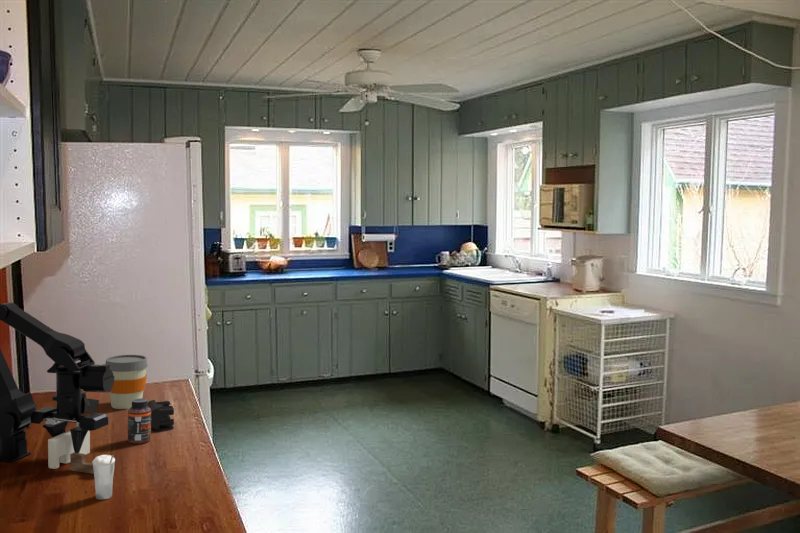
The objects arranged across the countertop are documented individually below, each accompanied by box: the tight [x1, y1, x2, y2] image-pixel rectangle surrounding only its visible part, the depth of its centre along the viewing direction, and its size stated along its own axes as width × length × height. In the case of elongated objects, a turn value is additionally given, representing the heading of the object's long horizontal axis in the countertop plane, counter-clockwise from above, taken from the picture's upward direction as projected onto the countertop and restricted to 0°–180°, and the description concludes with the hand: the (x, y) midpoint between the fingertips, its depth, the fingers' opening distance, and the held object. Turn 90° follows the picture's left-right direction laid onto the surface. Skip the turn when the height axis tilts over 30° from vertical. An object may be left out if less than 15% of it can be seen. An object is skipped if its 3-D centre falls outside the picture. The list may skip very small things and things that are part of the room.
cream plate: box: [47, 430, 91, 470], centre depth 175 cm, size 12×2×7 cm, turn 164°
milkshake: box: [91, 454, 116, 501], centre depth 154 cm, size 4×5×10 cm
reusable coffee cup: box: [105, 354, 148, 410], centre depth 224 cm, size 13×13×15 cm
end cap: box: [147, 399, 175, 432], centre depth 204 cm, size 10×7×7 cm
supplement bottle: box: [127, 397, 152, 445], centre depth 191 cm, size 6×6×11 cm
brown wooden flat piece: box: [69, 453, 99, 475], centre depth 168 cm, size 10×1×4 cm, turn 74°
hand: (69, 452), depth 176 cm, fingers open, 4 cm apart
